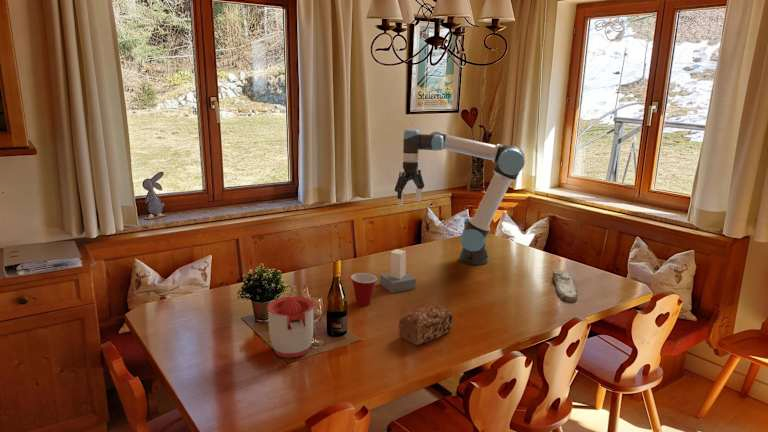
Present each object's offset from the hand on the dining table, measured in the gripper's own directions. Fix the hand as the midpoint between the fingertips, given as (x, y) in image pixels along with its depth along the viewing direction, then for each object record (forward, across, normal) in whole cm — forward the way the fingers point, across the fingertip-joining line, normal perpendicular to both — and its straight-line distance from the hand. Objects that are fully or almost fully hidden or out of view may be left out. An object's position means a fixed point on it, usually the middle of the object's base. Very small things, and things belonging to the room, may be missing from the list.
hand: (409, 203), depth 268 cm
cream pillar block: (+27, +28, +18) cm, 43 cm away
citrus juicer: (+32, +99, +34) cm, 110 cm away
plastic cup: (+32, +53, +22) cm, 65 cm away
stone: (+32, -26, +73) cm, 84 cm away
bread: (+32, +56, +58) cm, 87 cm away
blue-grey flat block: (+32, +28, +18) cm, 46 cm away
